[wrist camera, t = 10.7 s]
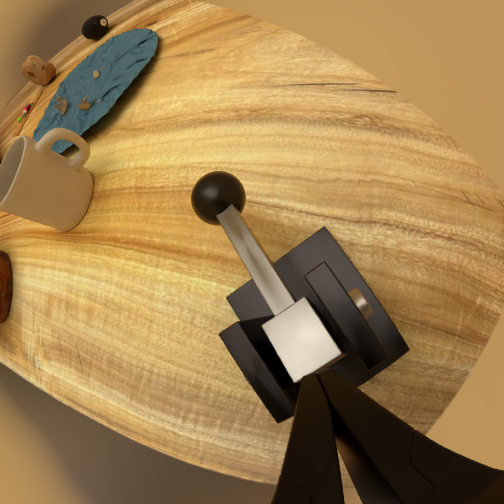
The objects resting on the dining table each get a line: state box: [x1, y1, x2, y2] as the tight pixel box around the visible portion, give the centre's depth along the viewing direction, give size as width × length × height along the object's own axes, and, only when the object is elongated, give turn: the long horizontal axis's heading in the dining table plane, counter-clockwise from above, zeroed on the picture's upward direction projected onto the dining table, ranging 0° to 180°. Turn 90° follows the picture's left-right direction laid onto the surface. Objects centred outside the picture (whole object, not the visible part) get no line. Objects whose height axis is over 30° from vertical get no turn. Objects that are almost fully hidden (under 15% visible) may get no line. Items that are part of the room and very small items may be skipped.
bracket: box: [219, 226, 410, 423], centre depth 15 cm, size 11×9×11 cm
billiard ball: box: [82, 15, 108, 39], centre depth 38 cm, size 6×6×6 cm
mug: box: [0, 128, 93, 231], centre depth 25 cm, size 12×8×11 cm
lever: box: [191, 171, 347, 383], centre depth 14 cm, size 12×3×3 cm, turn 34°
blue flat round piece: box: [33, 28, 158, 154], centre depth 33 cm, size 30×30×5 cm
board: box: [12, 92, 42, 136], centre depth 44 cm, size 6×12×2 cm, turn 159°
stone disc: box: [21, 56, 56, 85], centre depth 40 cm, size 10×4×10 cm, turn 71°
